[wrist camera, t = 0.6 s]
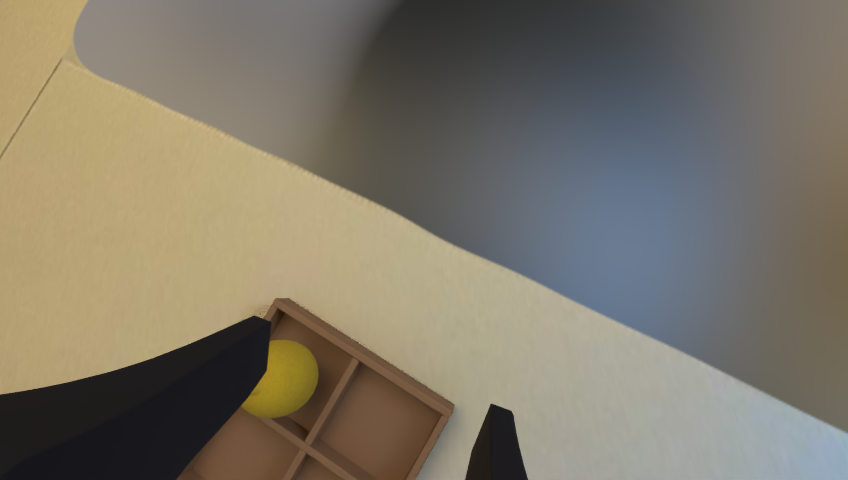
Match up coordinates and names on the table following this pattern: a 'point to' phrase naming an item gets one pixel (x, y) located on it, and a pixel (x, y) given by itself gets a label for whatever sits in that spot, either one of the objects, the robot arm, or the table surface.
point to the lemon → (284, 381)
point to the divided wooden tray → (330, 417)
